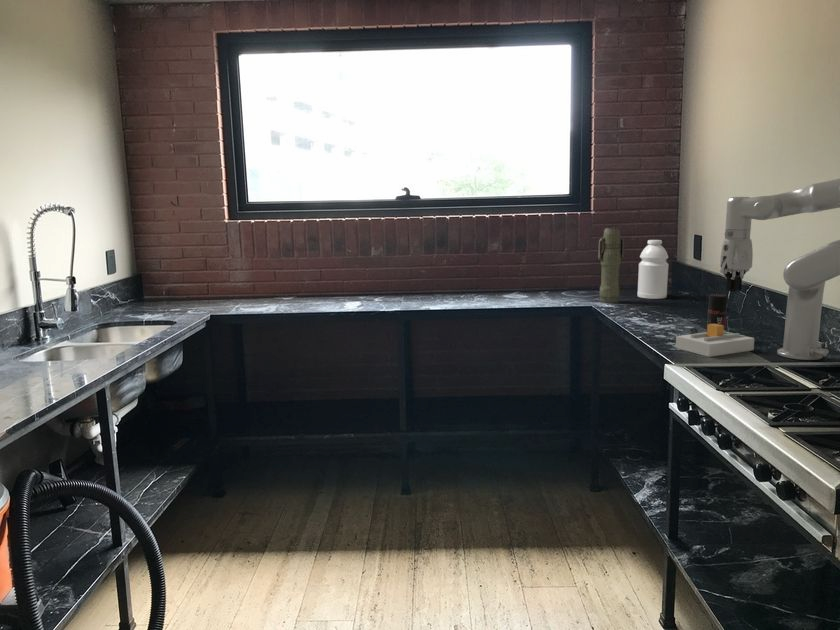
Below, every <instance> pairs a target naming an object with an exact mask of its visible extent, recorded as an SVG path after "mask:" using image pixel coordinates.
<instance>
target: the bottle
mask: <svg viewBox="0 0 840 630" xmlns="http://www.w3.org/2000/svg"><path fill="white" fill-rule="evenodd" d="M662 244H663V241H662V240H661V239H648V240H647V245H646V246H645V247H644V248H643V250H642V251H641V253H640V255H639V258H640V259H641V261H640V262H639V263H638V276H637V277H638V278H637V293H636V295H637V297H638V298H641V299H651V300H652V299H655V300H656V299H657V300H658V299H666V298H667V297H668V296H667V295H668V281H669V280H668V278H669V277H668V276H669V265H670V264H669V263H668V262H667V260H668V258H669V255H668V251H667V250H666V249H665V247H664V246H662Z"/></svg>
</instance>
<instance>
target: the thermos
mask: <svg viewBox="0 0 840 630" xmlns="http://www.w3.org/2000/svg"><path fill="white" fill-rule="evenodd" d="M602 235H603V236H602V237H601V238H600V239H598V254H597V258H598V260H599V261H600V266H601V276H600V277H601V280H600V282H601V283H600V286H599V302H600V303H601V304H602V303H603V304H617V303H619V297H620V286H619V279H620V278H619V277H620V275H619V274H620V266H621V261H622V260H624V254H625V253H624V251H625V249H624V248H625V240H624V238H623V237H621V233H620V228H618V227H610V226H609V227H606V228H604V230H603V233H602Z"/></svg>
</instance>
